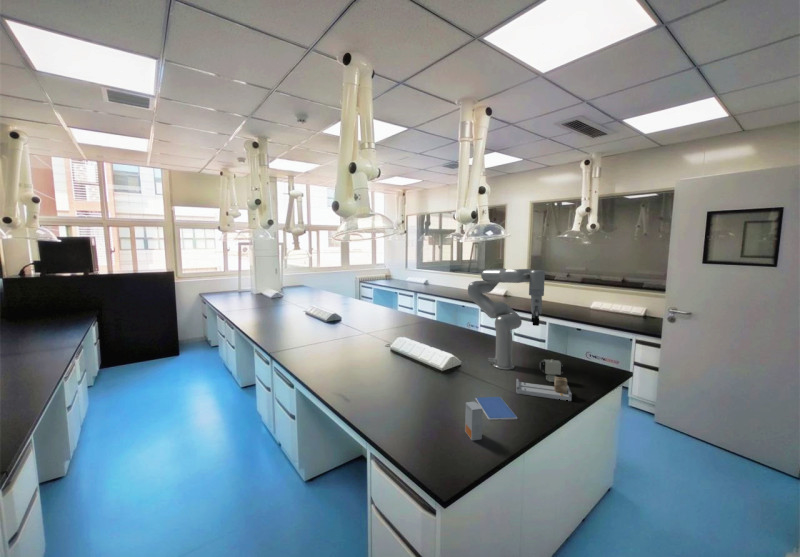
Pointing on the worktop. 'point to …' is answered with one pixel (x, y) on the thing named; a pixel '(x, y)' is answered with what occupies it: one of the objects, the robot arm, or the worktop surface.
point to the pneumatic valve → (552, 369)
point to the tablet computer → (495, 408)
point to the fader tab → (560, 384)
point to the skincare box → (473, 421)
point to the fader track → (541, 391)
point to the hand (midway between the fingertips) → (535, 323)
